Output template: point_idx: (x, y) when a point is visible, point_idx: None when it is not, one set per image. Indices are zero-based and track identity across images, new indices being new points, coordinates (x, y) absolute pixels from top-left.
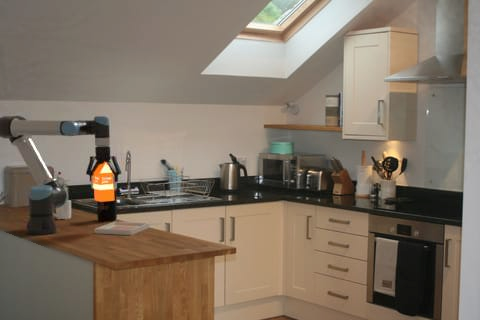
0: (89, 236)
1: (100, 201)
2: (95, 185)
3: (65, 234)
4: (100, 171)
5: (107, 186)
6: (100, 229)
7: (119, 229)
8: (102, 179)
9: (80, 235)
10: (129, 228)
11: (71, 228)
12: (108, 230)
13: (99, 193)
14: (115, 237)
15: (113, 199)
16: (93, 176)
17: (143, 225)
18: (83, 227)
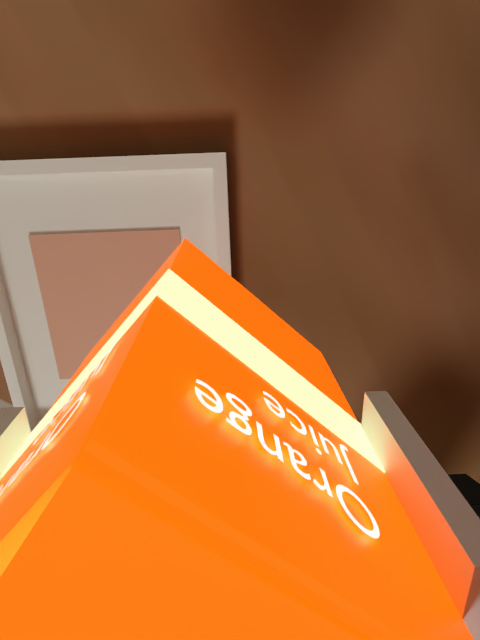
0: (195, 15)
1: (188, 240)
2: (331, 420)
3: (396, 39)
4: (41, 582)
5: (77, 380)
6: (180, 154)
7: (109, 266)
8: (89, 390)
9: (276, 35)
10: (74, 317)
11: (443, 270)
12: (120, 156)
13: (201, 278)
14: (4, 39)
15: (91, 351)
16: (454, 588)
17: (2, 363)
18: (385, 322)
